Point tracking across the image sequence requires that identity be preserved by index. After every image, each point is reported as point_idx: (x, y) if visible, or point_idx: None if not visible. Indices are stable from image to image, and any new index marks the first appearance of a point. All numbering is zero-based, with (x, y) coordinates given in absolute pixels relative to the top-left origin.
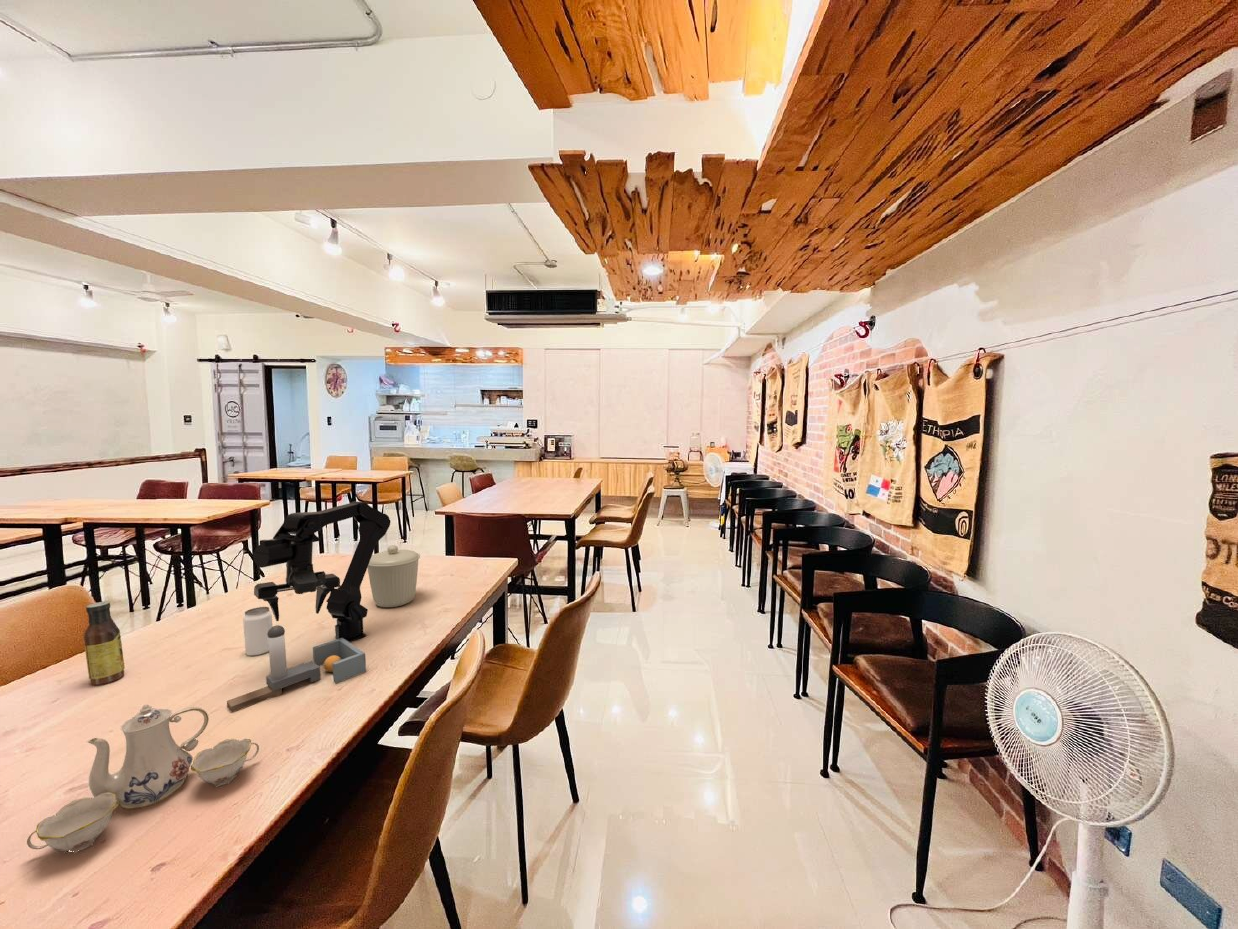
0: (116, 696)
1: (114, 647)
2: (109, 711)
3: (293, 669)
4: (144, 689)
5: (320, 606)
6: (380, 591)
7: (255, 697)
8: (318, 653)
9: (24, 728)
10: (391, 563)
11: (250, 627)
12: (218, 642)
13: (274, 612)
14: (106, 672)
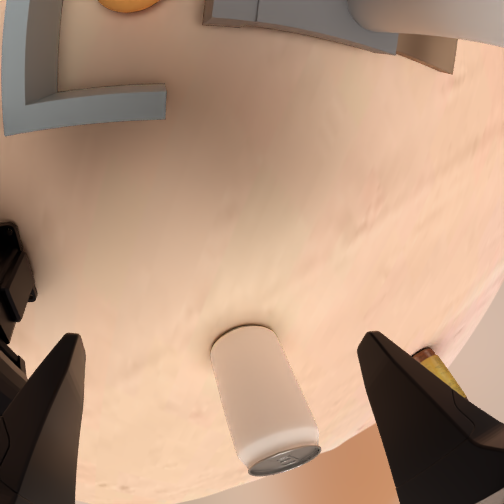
0: (449, 301)
1: None
2: (478, 256)
3: (315, 1)
4: (431, 301)
5: (37, 380)
6: None
7: None
8: (145, 89)
9: (500, 279)
10: None
11: (305, 404)
12: None
13: (437, 377)
14: (436, 360)
